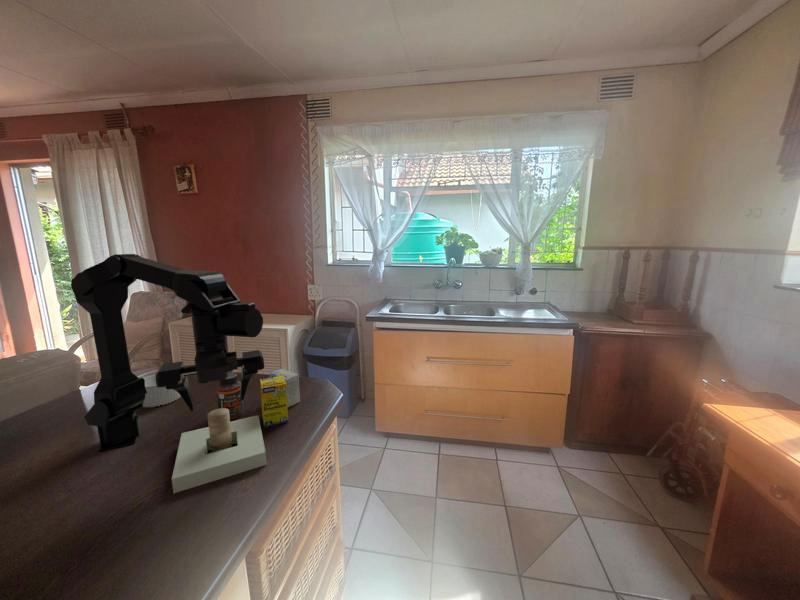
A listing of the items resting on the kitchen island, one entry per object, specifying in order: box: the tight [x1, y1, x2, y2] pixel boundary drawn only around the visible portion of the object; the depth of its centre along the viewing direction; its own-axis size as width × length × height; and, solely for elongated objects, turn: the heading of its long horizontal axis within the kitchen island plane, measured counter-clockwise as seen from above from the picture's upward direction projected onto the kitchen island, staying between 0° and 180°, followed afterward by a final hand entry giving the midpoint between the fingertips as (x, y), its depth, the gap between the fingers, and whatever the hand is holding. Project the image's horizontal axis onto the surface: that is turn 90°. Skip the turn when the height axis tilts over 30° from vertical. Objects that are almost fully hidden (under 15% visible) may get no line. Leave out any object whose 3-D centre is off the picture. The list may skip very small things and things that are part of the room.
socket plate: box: [171, 414, 267, 494], centre depth 68 cm, size 16×16×3 cm
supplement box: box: [259, 376, 289, 429], centre depth 81 cm, size 6×6×11 cm
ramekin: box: [136, 369, 182, 408], centre depth 92 cm, size 13×13×7 cm
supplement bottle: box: [215, 372, 244, 421], centre depth 83 cm, size 6×6×11 cm
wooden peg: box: [206, 408, 233, 453], centre depth 68 cm, size 4×4×10 cm
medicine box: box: [268, 368, 301, 408], centre depth 91 cm, size 8×4×9 cm, turn 58°
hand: (218, 404), depth 67 cm, fingers open, 9 cm apart
